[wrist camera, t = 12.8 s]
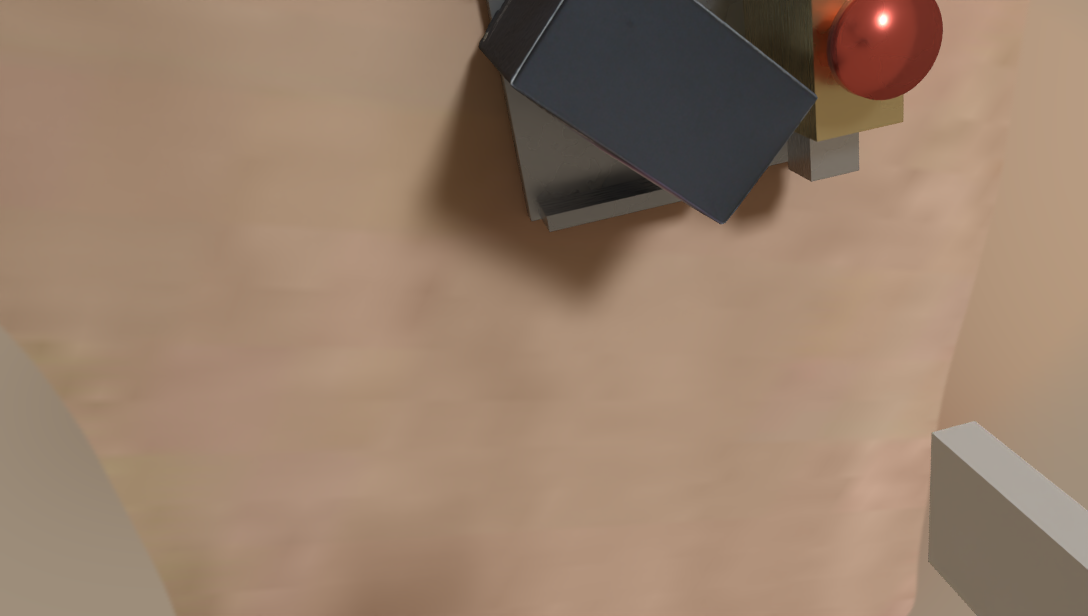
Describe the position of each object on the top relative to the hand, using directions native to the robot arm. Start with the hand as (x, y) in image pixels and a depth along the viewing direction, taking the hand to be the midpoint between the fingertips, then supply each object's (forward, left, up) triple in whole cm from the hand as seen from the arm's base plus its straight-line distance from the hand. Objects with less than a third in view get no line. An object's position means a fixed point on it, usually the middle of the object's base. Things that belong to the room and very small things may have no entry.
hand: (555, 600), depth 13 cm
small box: (+9, +3, -30) cm, 31 cm away
